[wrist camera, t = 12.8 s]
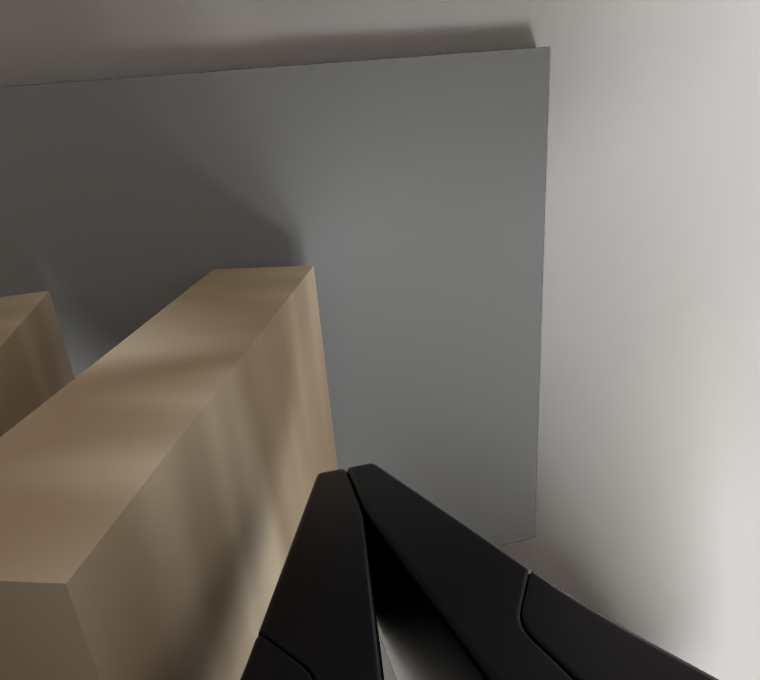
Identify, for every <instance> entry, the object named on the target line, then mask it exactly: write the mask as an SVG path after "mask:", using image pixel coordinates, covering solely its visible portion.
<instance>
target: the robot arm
mask: <svg viewBox="0 0 760 680" xmlns="http://www.w3.org/2000/svg"><path fill="white" fill-rule="evenodd" d="M378 631H379V633H378ZM379 634H380V637H381V640H382V643H383V645H384V648H385V651H386V653H387V656H388V659H389V661H390V664H391V667H392V669H393V672H394V675H395V677H396V680H718V679H717V678H715V677H713V676H711V675H709V674H707V673H706V672H704V671H702V670H700V669H698V668H696V667H695V666H693V665H691V664H689V663H687V662H685V661H684V660H682V659H680V658H678V657H676V656H674V655H673V654H671V653H669V652H667V651H665V650H663V649H662V648H660V647H658V646H656V645H654V644H652V643H651V642H649V641H647V640H645V639H643V638H641V637H640V636H638V635H636V634H634V633H632V632H630V631H629V630H627V629H625V628H623V627H622V626H620V625H618V624H617V623H615V622H613V621H611V620H610V619H608V618H606V617H604V616H603V615H601V614H599V613H597V612H596V611H594V610H592V609H590V608H589V607H587V606H586V605H584V604H582V603H581V602H579V601H578V600H576V599H575V598H573V597H572V596H570V595H568V594H567V593H565V592H564V591H562V590H561V589H559V588H557V587H556V586H554V585H553V584H551V583H550V582H548V581H547V580H546V579H544V578H543V577H541V576H540V575H538V574H537V573H535V572H531V573H530V569H529V568H527V567H526V566H524V565H523V564H522V563H520V562H519V561H517V560H516V559H514V558H513V557H511V556H510V555H508V554H507V553H505V552H504V551H502V550H501V549H499V548H498V547H496V546H495V545H493V544H492V543H491V542H489V541H488V540H486V539H485V538H483V537H482V536H480V535H479V534H477V533H476V532H474V531H473V530H471V529H470V528H468V527H467V526H465V525H464V524H463V523H461V522H460V521H458V520H457V519H455V518H454V517H452V516H451V515H449V514H448V513H446V512H445V511H443V510H442V509H440V508H439V507H437V506H436V505H434V504H433V503H432V502H430V501H429V500H427V499H426V498H424V497H423V496H421V495H420V494H418V493H417V492H415V491H414V490H412V489H411V488H409V487H408V486H406V485H405V484H404V483H402V482H401V481H399V480H398V479H396V478H395V477H393V476H392V475H390V474H389V473H387V472H386V471H384V470H383V469H381V468H380V467H378V466H377V465H375V464H373V463H369V464H364V465H359V466H353V467H350V468H348V469H347V472H346V471H345V470H343V469H338V470H332V471H327V472H322V473H319V474H318V475H317V477H316V479H315V482H314V485H313V488H312V490H311V493H310V496H309V498H308V501H307V504H306V506H305V509H304V512H303V514H302V517H301V520H300V523H299V525H298V528H297V531H296V533H295V536H294V539H293V541H292V544H291V547H290V549H289V552H288V555H287V557H286V560H285V563H284V566H283V568H282V571H281V574H280V576H279V579H278V582H277V584H276V587H275V590H274V592H273V595H272V598H271V600H270V603H269V606H268V609H267V611H266V614H265V617H264V619H263V622H262V625H261V627H260V630H259V633H258V637H257V638H256V640H255V643H254V645H253V648H252V651H251V653H250V656H249V659H248V661H247V664H246V666H245V669H244V671H243V674H242V676H241V678H240V680H384V675H383V666H382V658H381V650H380V641H379Z"/></svg>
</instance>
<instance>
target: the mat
mask: <svg viewBox="0 0 760 680" xmlns="http://www.w3.org/2000/svg"><path fill="white" fill-rule="evenodd" d="M549 66H550V47H539V48H525V49H512V50H498V51H484V52H471V53H457V54H444V55H430V56H417V57H403V58H389V59H376V60H362V61H349V62H335V63H321V64H308V65H294V66H281V67H267V68H254V69H240V70H226V71H213V72H199V73H186V74H172V75H158V76H145V77H131V78H118V79H104V80H91V81H77V82H63V83H50V84H36V85H23V86H9V87H0V297H6V296H13V295H21V294H29V293H36V292H44V291H49V292H50V295H51V299H52V302H53V306H54V309H55V312H56V316H57V319H58V322H59V326H60V329H61V332H62V336H63V339H64V342H65V346H66V349H67V353H68V356H69V359H70V363H71V366H72V369H73V373H74V376H75V378H76V377H77V376H79V375H80V374H81V373H83V372H84V371H85V370H86V369H88V368H89V367H90V366H91V365H93V364H94V363H95V362H96V361H98V360H99V359H100V358H102V357H103V356H104V355H105V354H107V353H108V352H109V351H110V350H112V349H113V348H114V347H116V346H117V345H118V344H119V343H121V342H122V341H123V340H124V339H126V338H127V337H128V336H129V335H131V334H132V333H133V332H135V331H136V330H137V329H138V328H140V327H141V326H142V325H143V324H145V323H146V322H147V321H149V320H150V319H151V318H152V317H154V316H155V315H156V314H157V313H159V312H160V311H161V310H162V309H164V308H165V307H166V306H168V305H169V304H170V303H171V302H173V301H174V300H175V299H176V298H178V297H179V296H180V295H182V294H183V293H184V292H185V291H187V290H188V289H189V288H190V287H192V286H193V285H194V284H195V283H197V282H198V281H199V280H201V279H202V278H203V277H204V276H206V275H207V274H208V273H209V272H211V271H212V270H213V269H231V268H259V267H287V266H314V273H315V281H316V290H317V298H318V306H319V315H320V323H321V332H322V340H323V348H324V357H325V365H326V373H327V382H328V390H329V399H330V407H331V415H332V424H333V432H334V441H335V449H336V457H337V466H338V469H343V470H345V471H346V472H347V469H348V468H350V467H353V466H359V465H364V464H369V463H373V464H375V465H377V466H378V467H380V468H381V469H383V470H384V471H386V472H387V473H389V474H390V475H392V476H393V477H395V478H396V479H398V480H399V481H401V482H402V483H404V484H405V485H406V486H408V487H409V488H411V489H412V490H414V491H415V492H417V493H418V494H420V495H421V496H423V497H424V498H426V499H427V500H429V501H430V502H432V503H433V504H434V505H436V506H437V507H439V508H440V509H442V510H443V511H445V512H446V513H448V514H449V515H451V516H452V517H454V518H455V519H457V520H458V521H460V522H461V523H463V524H464V525H465V526H467V527H468V528H470V529H471V530H473V531H474V532H476V533H477V534H479V535H480V536H482V537H483V538H485V539H486V540H488V541H489V542H491V543H492V544H493V545H495V546H500V545H504V544H509V543H513V542H517V541H522V540H526V539H530V538H535V508H536V476H537V445H538V413H539V381H540V350H541V318H542V287H543V255H544V223H545V192H546V160H547V129H548V97H549Z"/></svg>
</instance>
